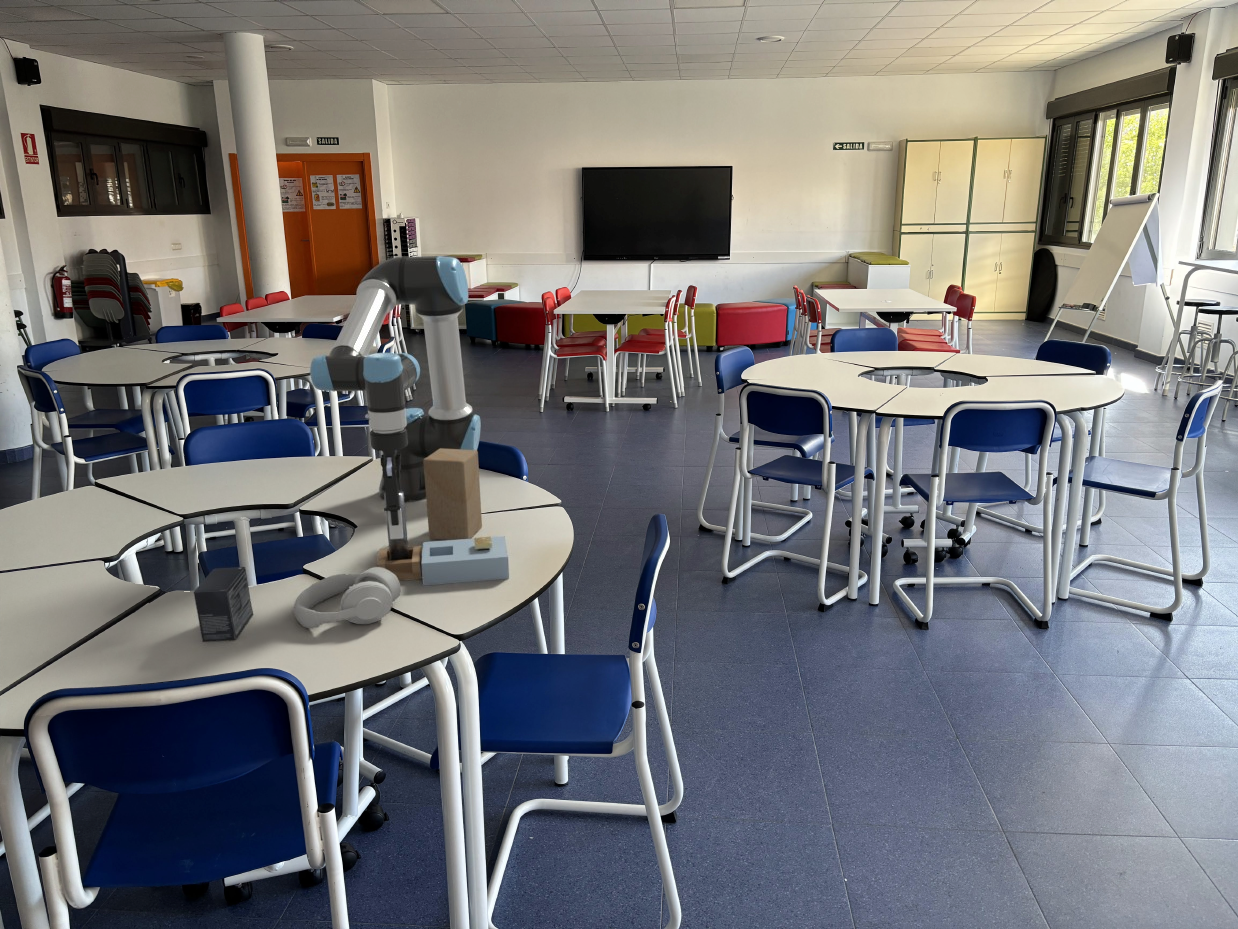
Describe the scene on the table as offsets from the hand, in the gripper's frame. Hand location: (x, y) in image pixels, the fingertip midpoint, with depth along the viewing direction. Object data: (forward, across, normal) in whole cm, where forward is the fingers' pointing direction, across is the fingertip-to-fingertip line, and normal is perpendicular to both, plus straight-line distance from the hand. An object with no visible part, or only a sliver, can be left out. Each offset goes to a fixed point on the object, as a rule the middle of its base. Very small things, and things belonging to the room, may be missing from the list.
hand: (397, 533), depth 186 cm
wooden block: (+9, -21, +12) cm, 26 cm away
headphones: (+9, +17, -9) cm, 22 cm away
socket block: (+9, +2, +14) cm, 17 cm away
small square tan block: (+8, +2, +18) cm, 20 cm away
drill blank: (+7, 0, 0) cm, 7 cm away
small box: (+9, +20, -31) cm, 38 cm away
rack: (+9, 0, 0) cm, 9 cm away
